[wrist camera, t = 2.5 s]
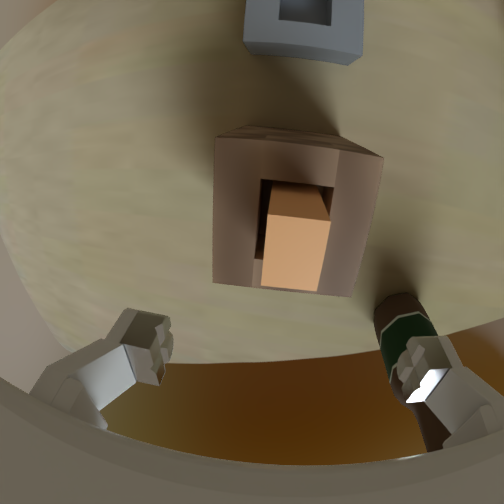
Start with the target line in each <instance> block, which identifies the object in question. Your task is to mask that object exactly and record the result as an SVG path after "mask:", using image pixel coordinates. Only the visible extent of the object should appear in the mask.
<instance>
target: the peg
mask: <svg viewBox="0 0 504 504" xmlns="http://www.w3.org/2000/svg"><path fill="white" fill-rule="evenodd" d="M330 225H331V220H330V218H329V215H328V213H327V210H326V208H325V205H324V203H323V200H322V198H321V195H320V193H319V190H318V188H317V186H316V185H313V184H305V183H297V182H288V181H279V180H273V184H272V190H271V197H270V203H269V209H268V217H267V227H266V238H265V248H264V258H263V268H262V278H261V286H270V287H279V288H288V289H298V290H308V291H317V287H318V283H319V279H320V274H321V269H322V265H323V260H324V255H325V250H326V245H327V240H328V235H329V230H330Z"/></svg>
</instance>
